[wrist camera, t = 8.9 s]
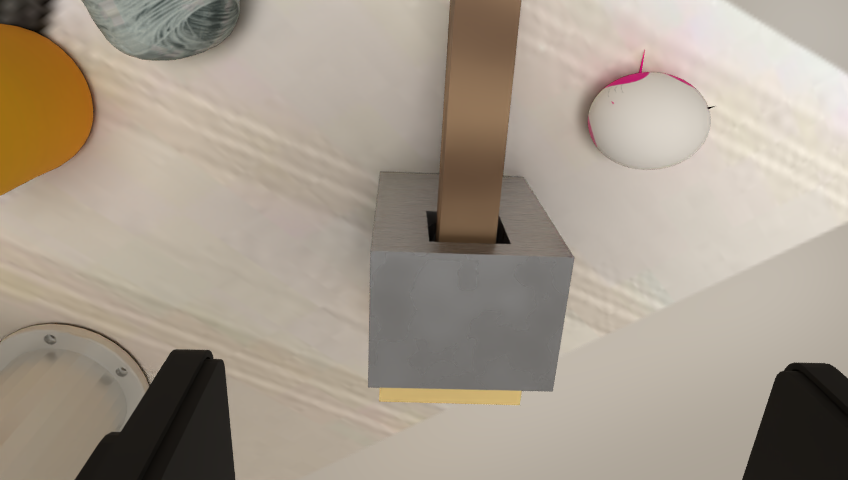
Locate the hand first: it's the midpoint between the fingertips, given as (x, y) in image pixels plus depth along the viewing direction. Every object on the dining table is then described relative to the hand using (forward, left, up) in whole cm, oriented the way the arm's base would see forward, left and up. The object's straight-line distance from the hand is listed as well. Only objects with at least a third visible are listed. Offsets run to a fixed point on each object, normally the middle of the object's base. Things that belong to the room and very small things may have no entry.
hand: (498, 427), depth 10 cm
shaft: (-2, -2, -24) cm, 24 cm away
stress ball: (0, -14, -32) cm, 35 cm away
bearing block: (-9, -2, -32) cm, 33 cm away
